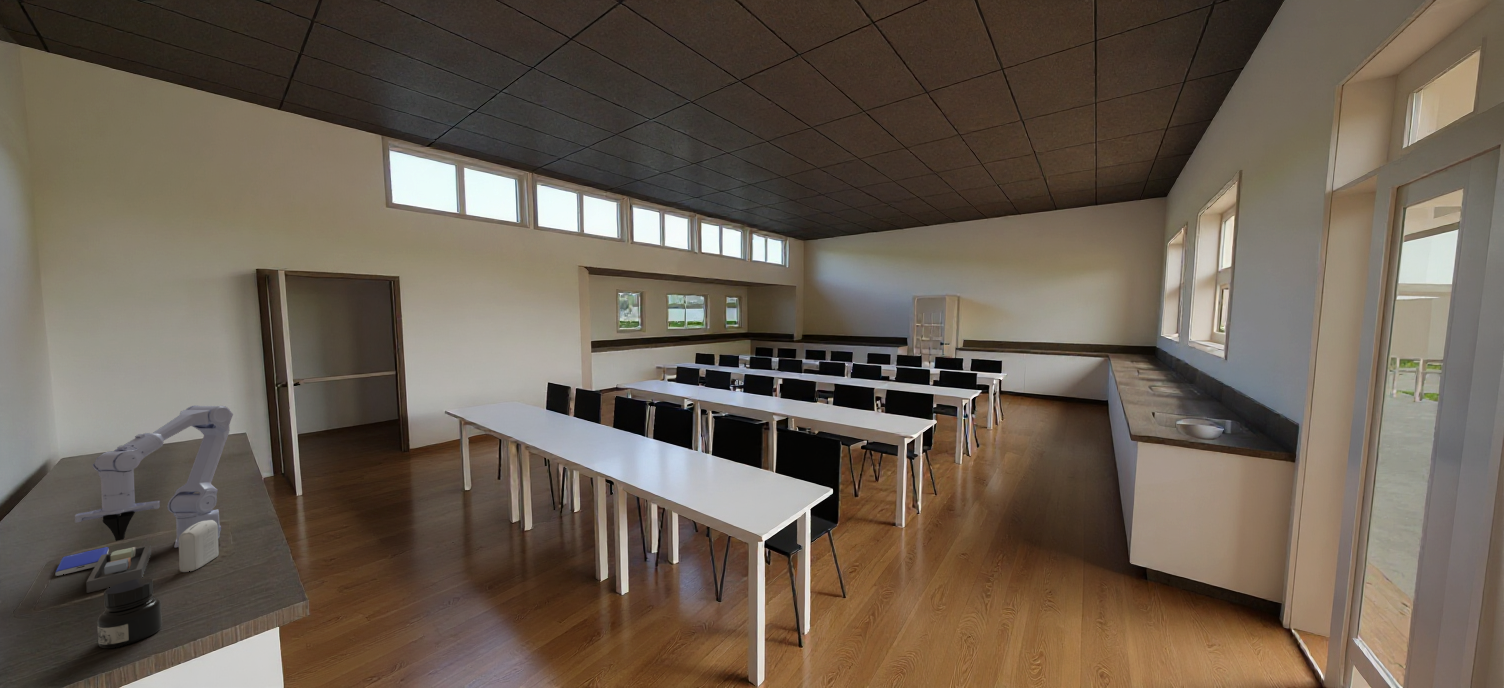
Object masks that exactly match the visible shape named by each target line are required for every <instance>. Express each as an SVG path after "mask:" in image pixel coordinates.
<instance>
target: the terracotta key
mask: <svg viewBox="0 0 1504 688" xmlns="http://www.w3.org/2000/svg"><path fill="white" fill-rule="evenodd" d="M125 559H127V558H125ZM120 560H122V559H120ZM116 561H118V560H116ZM111 562H113V561H111ZM130 566H131V557H129V558H128V568H127V569H129V568H130ZM123 571H124V570H123Z"/></svg>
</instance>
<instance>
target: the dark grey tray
mask: <svg viewBox="0 0 1504 688" xmlns="http://www.w3.org/2000/svg"><path fill="white" fill-rule="evenodd" d="M151 545H152V544H148V545H142V546H138V547H135V549H136V554H135V556H134V557H133V558H131V566H130V568H129V569H127V570H124V571H122V572H120V573H116V574H112V573H110V574H106V575H105V571H104V567H105V565H106V563H109V562H111V558H110V556H111V554H112V552H110V553H109V552H108V554H104V555H101V557H100V559H99V560H98V562H97V564H96V566H95V567H93V568H92V571H91V573H90V575H89V576H88V578H87V580H86V582H85V583H86V594H87V593H92V592H97V591H100V590H104V589H105V590H106V589H108V588H109V587H112V586H114V585H117V584H120V583H123V582H126V581H130V580H134V579H140V578H142V577H143V578H144V576H143V574H144V575H145V573H144V571H145V572H146V570H147V567H148V564H149V562H150V561H149V560H150V559H151V556H152V547H151ZM150 555H151V556H150ZM149 558H150V559H149ZM148 561H149V562H148ZM147 563H148V564H147ZM146 566H147V567H146ZM145 569H146V570H145Z"/></svg>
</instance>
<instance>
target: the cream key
mask: <svg viewBox="0 0 1504 688" xmlns="http://www.w3.org/2000/svg"><path fill="white" fill-rule="evenodd" d="M128 548H129V547H128ZM128 548H127V547H126V549H128ZM131 548H133V556H132V558H133V557H134V556H135V554H136V549H135V548H136V546H133V547H131ZM124 549H125V548H124ZM124 549H121V550H124ZM119 550H120V549H118V550H117V551H119Z"/></svg>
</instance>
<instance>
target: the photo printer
mask: <svg viewBox="0 0 1504 688" xmlns="http://www.w3.org/2000/svg"><path fill="white" fill-rule="evenodd" d="M219 551H220V550H219V538H218V525H217V523H216V522H215V521H213V520H207V521H201V522H198V523H196V524H194V525H192V526H190V527H189V528H188V529H186V530H185V531H184V532H183V533H182V534H181V535H180V537H179V547H178V558H179V559H178V560H179V571H180V572H182V573H189V571H190V572H194V571H195V570H198V569H200V568H202V567H204V566H205V565H206V564H208V563H210V562H211V561H212V560H214V559H216V558H217V557H219V554H220V553H219Z"/></svg>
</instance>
